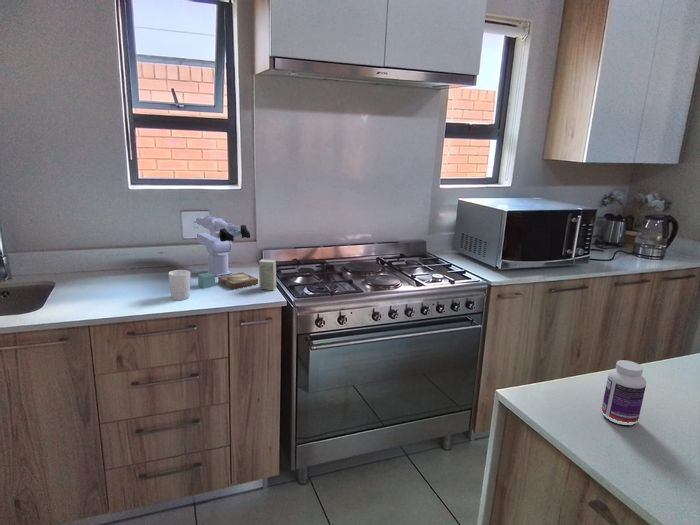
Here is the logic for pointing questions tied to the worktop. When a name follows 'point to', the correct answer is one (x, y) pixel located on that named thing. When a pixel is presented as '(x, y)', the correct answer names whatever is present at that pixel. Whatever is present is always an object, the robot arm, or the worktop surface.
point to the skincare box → (267, 274)
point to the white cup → (179, 284)
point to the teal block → (206, 280)
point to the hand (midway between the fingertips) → (241, 237)
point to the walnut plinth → (237, 280)
